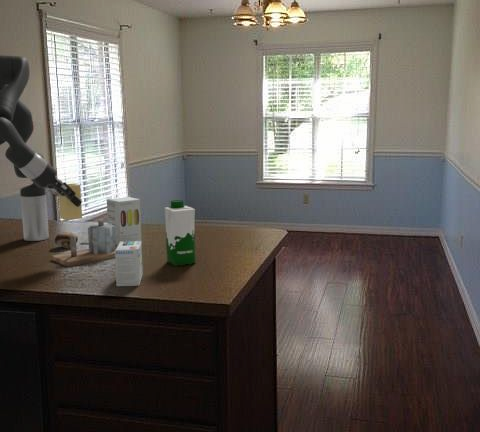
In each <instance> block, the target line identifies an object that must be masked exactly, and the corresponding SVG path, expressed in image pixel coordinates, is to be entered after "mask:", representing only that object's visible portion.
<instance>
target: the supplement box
mask: <svg viewBox="0 0 480 432" xmlns="http://www.w3.org/2000/svg"><path fill="white" fill-rule="evenodd" d="M106 213H107V215H106V217H107V223H109V224H112V225H114V229H115V246H116V247H117V246H118V244H119V242H128V241H141V242H142V222H141V221H142V220H141V219H142V218H141V216H142V215H141V199H140V198H136V197H135V198H134V197H131V196H130V197H129V196H125V197H116V198H114V197H113V198H107V199H106Z"/></svg>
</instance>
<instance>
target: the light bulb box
mask: <svg viewBox="0 0 480 432" xmlns="http://www.w3.org/2000/svg"><path fill="white" fill-rule="evenodd" d="M115 249H116V250H115V258H114V259H115V260H114V261H115V263H114V264H115V278H116V279H115V280H116V287H135V286H136V287H137V286H138V287H139V286H140V284H141V280H142V278H143V257H142V256H143V252H142V250H143V249H142V240H141V241H128V242H119V244H118V246H117V245H116V247H115Z"/></svg>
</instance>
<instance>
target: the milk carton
mask: <svg viewBox="0 0 480 432" xmlns="http://www.w3.org/2000/svg"><path fill="white" fill-rule="evenodd" d="M195 215H196V209H195V208H193V207H191V206H188V205H184V200H181V199H178V200H177V199H176V200H171V201H170V206H168V207H166V206H165V207H164V217H165V239H166V241H165V242H166V243H165V244H166V258H167V260H166V261H167V262H168V263H169V262H170V263H169V264H171V263H172V264H171V265H173V266H174V265H175V266H174V267H178V266H177V265H181V266H186V265H185V264H188V265H193V264H192V263H195V264H196V242H195V241H196V238H195V237H196V235H195V231H196V230H195V228H196V227H195Z"/></svg>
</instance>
